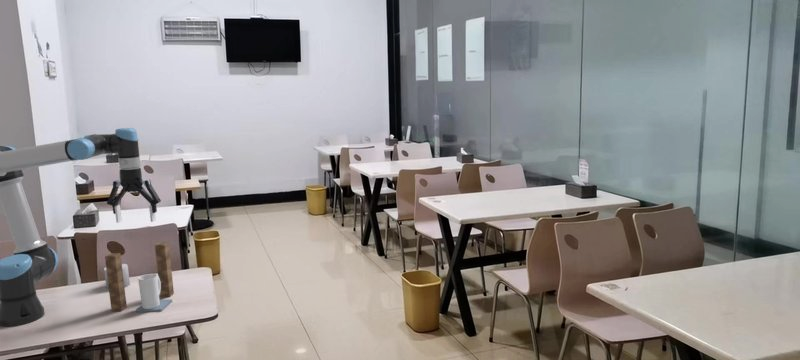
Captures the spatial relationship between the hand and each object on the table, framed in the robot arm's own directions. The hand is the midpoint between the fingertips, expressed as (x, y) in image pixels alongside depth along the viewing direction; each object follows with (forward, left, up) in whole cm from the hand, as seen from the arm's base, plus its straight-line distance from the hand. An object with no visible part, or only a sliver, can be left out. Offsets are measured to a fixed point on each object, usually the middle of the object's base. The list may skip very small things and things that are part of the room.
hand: (136, 221), depth 230 cm
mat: (+7, -7, -33) cm, 34 cm away
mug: (+7, -7, -32) cm, 34 cm away
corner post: (-6, -9, -33) cm, 34 cm away
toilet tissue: (-20, +19, -33) cm, 43 cm away
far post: (+7, +5, -33) cm, 34 cm away
